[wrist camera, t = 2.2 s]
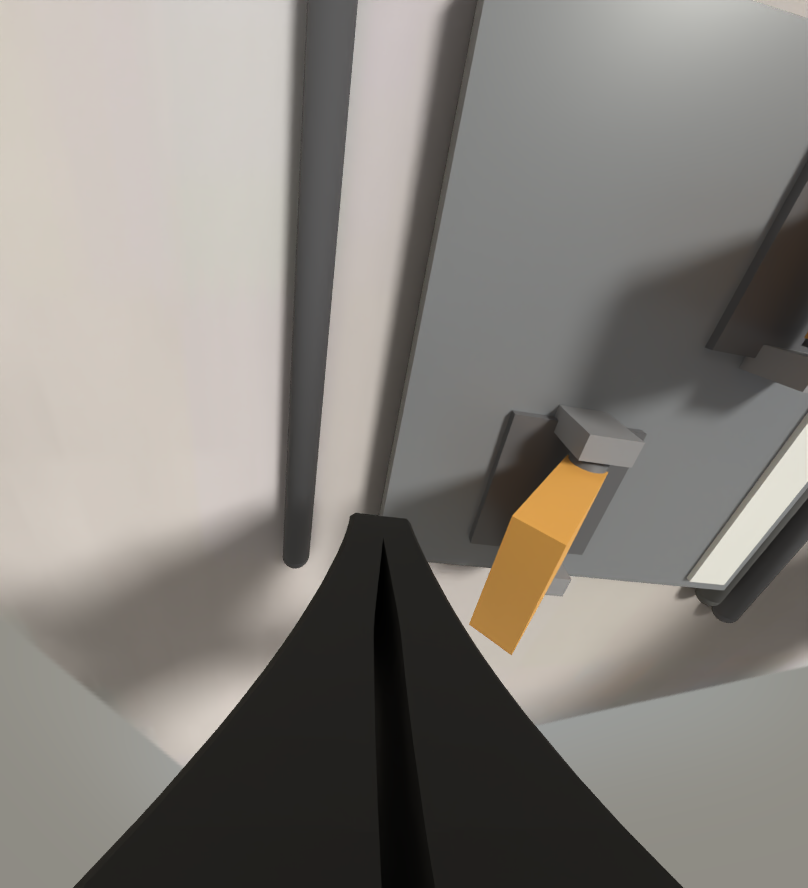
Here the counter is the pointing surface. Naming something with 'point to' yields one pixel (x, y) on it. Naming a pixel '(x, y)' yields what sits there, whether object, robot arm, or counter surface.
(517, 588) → the breaker lever
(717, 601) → the dark long thin strip
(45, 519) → the counter surface
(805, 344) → the breaker lever
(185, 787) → the robot arm
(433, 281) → the breaker panel
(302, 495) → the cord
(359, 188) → the counter surface
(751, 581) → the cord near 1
